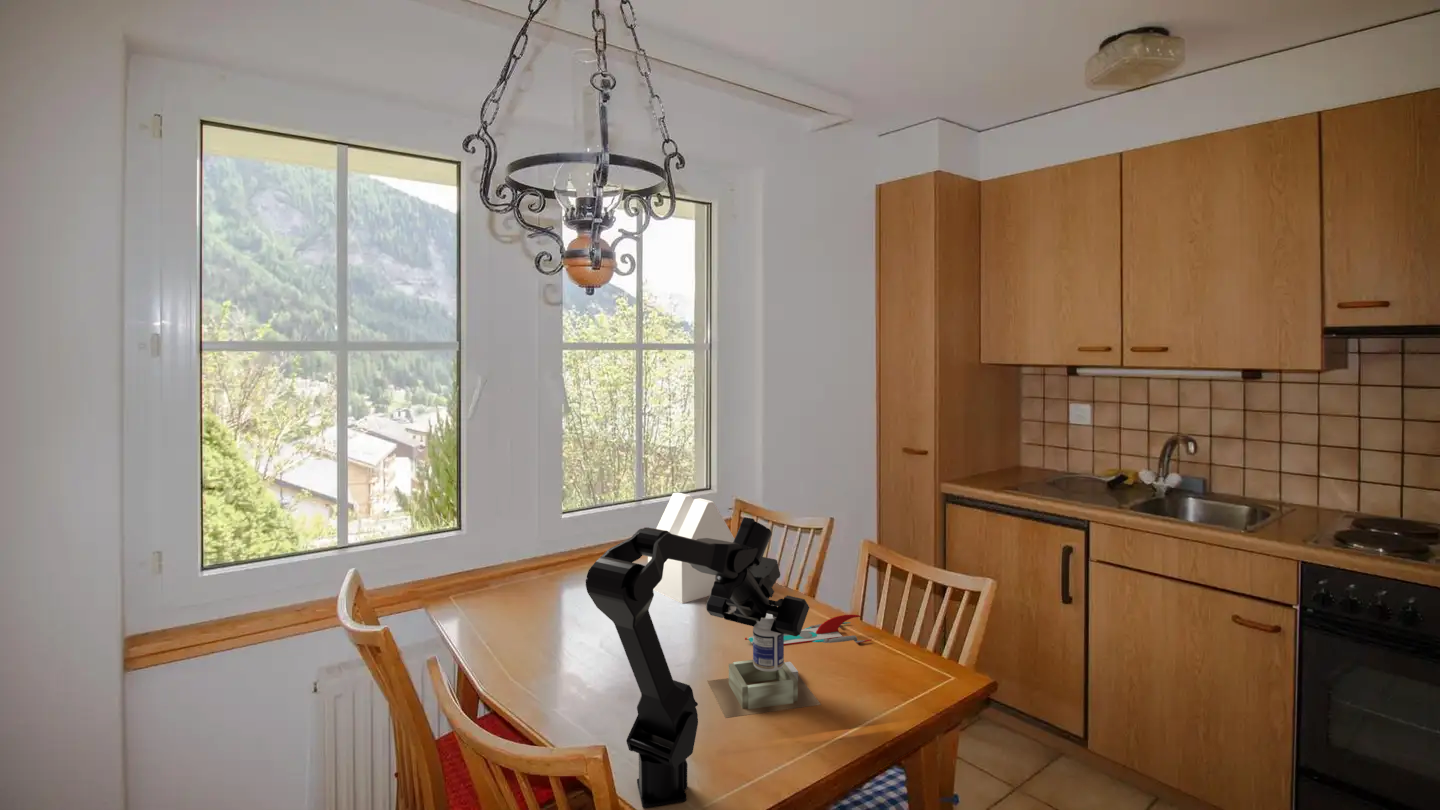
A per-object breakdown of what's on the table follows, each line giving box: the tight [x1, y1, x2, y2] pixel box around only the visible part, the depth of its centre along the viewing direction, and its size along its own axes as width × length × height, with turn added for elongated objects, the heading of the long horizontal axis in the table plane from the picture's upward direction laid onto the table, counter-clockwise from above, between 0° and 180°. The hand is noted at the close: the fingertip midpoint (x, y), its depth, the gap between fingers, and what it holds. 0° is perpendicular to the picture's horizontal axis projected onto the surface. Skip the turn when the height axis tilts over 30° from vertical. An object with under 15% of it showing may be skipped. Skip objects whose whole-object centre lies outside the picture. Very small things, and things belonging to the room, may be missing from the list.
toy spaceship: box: [744, 614, 872, 646], centre depth 157 cm, size 27×11×5 cm, turn 110°
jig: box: [706, 659, 822, 719], centre depth 133 cm, size 18×14×5 cm
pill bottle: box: [752, 614, 785, 672], centre depth 131 cm, size 6×6×10 cm
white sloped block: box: [647, 492, 735, 604], centre depth 192 cm, size 19×15×25 cm
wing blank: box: [784, 661, 799, 680], centre depth 139 cm, size 3×4×2 cm
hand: (771, 628), depth 132 cm, fingers closed on pill bottle, 6 cm apart
